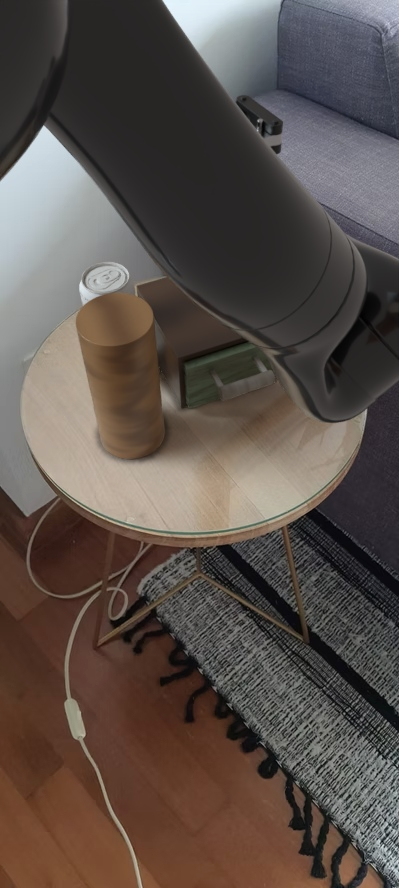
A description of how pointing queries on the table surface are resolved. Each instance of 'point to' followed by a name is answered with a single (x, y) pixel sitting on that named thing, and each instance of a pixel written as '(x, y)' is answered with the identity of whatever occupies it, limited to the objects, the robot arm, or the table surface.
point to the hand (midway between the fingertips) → (161, 100)
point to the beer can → (105, 281)
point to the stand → (122, 373)
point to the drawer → (226, 374)
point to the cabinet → (181, 332)
